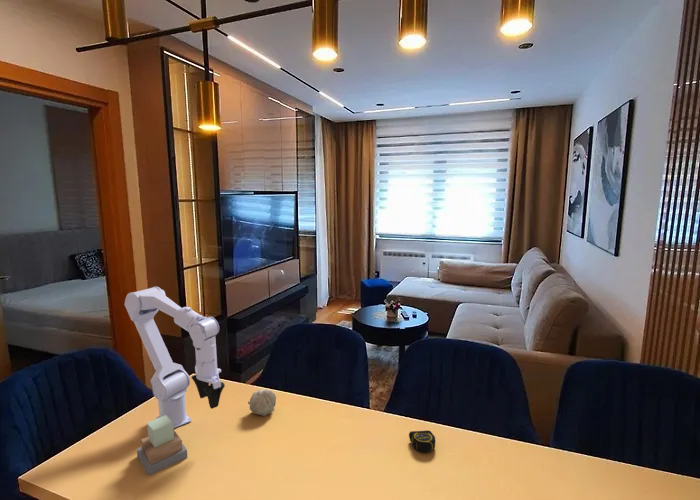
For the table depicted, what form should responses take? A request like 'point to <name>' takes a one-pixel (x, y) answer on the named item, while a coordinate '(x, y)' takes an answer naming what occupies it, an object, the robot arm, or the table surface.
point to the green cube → (160, 431)
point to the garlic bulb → (262, 402)
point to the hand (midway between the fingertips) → (209, 401)
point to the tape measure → (422, 440)
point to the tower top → (161, 448)
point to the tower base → (161, 463)
